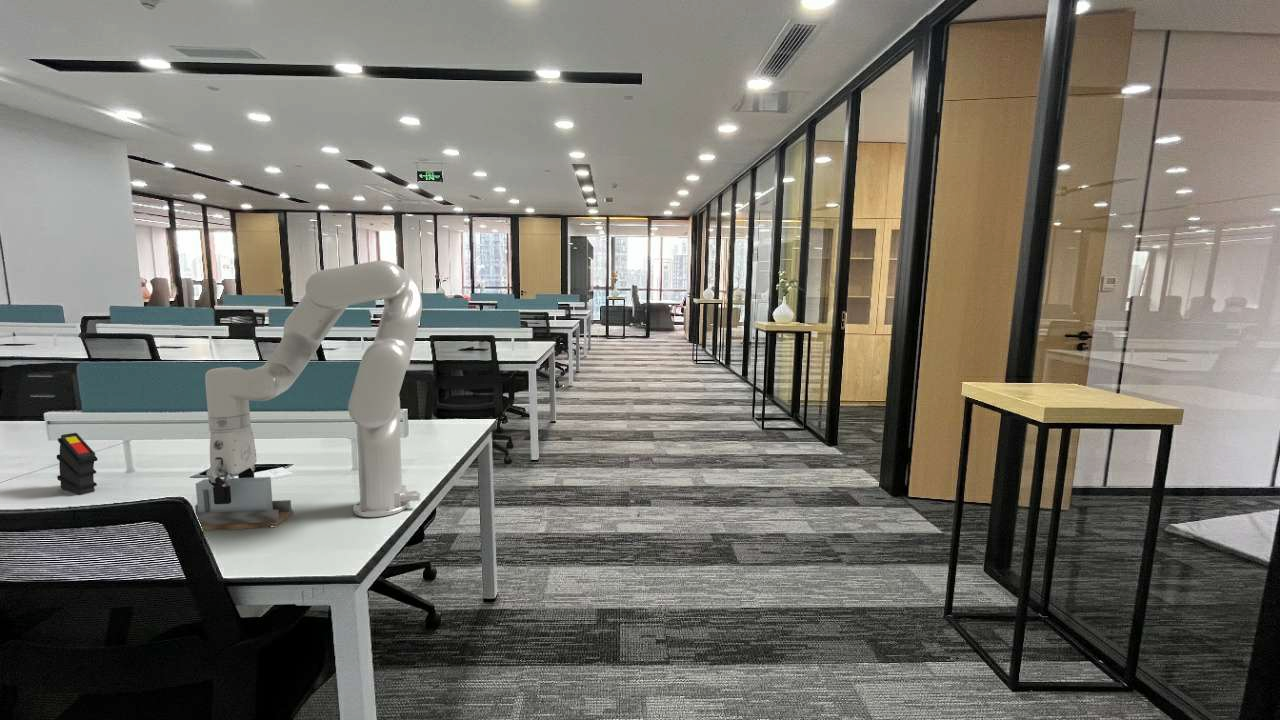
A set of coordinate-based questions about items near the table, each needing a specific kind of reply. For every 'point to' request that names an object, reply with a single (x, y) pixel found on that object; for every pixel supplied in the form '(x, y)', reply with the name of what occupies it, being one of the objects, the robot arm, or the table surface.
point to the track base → (246, 517)
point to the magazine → (76, 464)
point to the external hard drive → (272, 473)
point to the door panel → (237, 495)
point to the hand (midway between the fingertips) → (235, 495)
